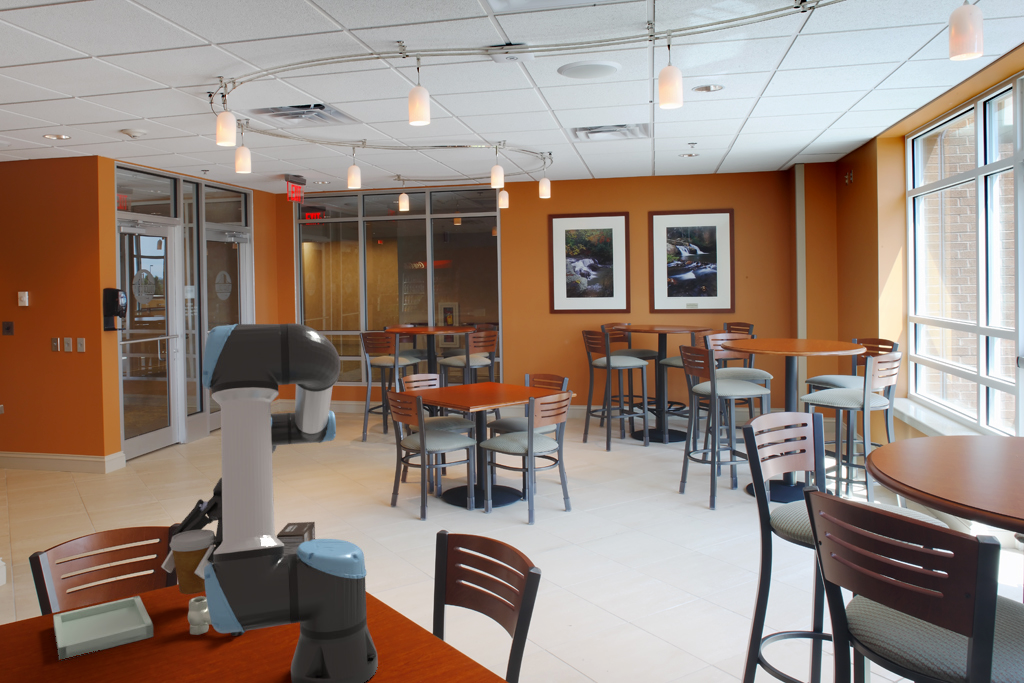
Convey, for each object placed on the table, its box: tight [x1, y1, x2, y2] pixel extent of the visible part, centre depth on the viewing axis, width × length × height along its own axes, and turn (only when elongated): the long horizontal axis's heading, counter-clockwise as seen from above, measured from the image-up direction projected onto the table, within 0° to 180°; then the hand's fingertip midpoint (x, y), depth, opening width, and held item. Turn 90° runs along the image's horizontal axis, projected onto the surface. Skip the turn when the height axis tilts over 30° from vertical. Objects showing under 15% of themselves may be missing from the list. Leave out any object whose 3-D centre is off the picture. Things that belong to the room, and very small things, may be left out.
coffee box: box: [276, 521, 316, 555], centre depth 159 cm, size 9×6×16 cm
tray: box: [52, 595, 154, 661], centre depth 144 cm, size 18×16×2 cm
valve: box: [187, 595, 245, 637], centre depth 143 cm, size 7×7×12 cm
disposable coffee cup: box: [169, 529, 216, 595], centre depth 155 cm, size 10×10×12 cm
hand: (182, 572), depth 152 cm, fingers closed on disposable coffee cup, 9 cm apart
